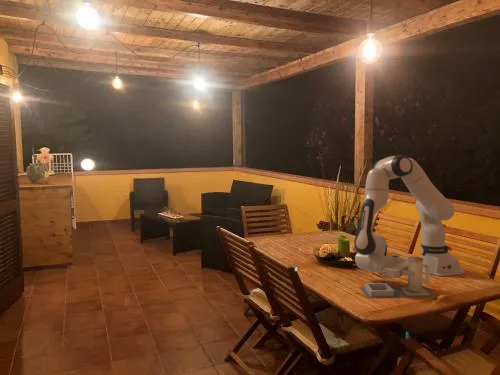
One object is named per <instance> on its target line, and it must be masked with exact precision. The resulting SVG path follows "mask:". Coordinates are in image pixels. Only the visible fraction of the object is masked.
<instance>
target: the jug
mask: <svg viewBox="0 0 500 375" xmlns="http://www.w3.org/2000/svg"><path fill="white" fill-rule="evenodd" d="M407 259H408V271H414V275H413V276H407V286H408V290H411V291H422V286H423V284H425V285H428V284H430V274H429V273H430V265H427V264H423V261H424V259H423V258H421V256H408V257H407ZM423 268H425V273H424V278H423V272H422V271H423Z"/></svg>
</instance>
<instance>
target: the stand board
mask: <svg viewBox="0 0 500 375" xmlns="http://www.w3.org/2000/svg"><path fill="white" fill-rule="evenodd" d="M359 289H360V290H361V291H362V293H363V294H364V295H365V297H366V298H367V299H404V298H405V299H410V298H419V299H420V298H433V299H432V300H433V301H435V300H438V296H436V294H434V292H432V291H431V290H429V289H428V288H427V287H426V286H425V285H422V291H411V290H408V285H407V286H401V285H400V286H391V285H389V284H388V282H371V283H369V282H367V283H364V286H359Z"/></svg>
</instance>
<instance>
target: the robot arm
mask: <svg viewBox="0 0 500 375" xmlns="http://www.w3.org/2000/svg"><path fill="white" fill-rule="evenodd" d="M398 178H401V180H402V182H403V183H404V185H405V186H406V188H407V190H408V191H409V192H410V194H411V195H412V196H413V198H415V199H416V200H415V209H416V211H417V212H418V215H419V220H420V225H421V243H420V257H421V258H423V259H424V261H423V264H427V265H430V273H429V275H434V276H437V277H447V276H456V275H458V276H459V275H465V274H466V270H464V269H463V268H462V267H461V263H460V260H459V259H458V258H457V257H456V256H454V255H453V254H452V253H450V252H452V250H453V248H452V247H451V246H450V245H446V230H445V227H444V226H443V224H442V223H443V222H442V221H449V220H451V219H452V218H453V216H454V215H455V210H456V209H455V206H454V205H453V203H452V202H450V201H449V200H448V199H447V198H446V197H445V196H444V195H443V193H441V192H440V191H439V190H438V188H437V187H435V185H434V184H433V183H432V181H431V180H430V179H429V177H428V175H427V174H426V173H425V170H424V169H423V168H422V167H421V166H420V164H419V163H418V162H417V161H416V160H415V159H413V158H412V157H408V156H406V155H403V154H398V155H392V156H391V155H390V156H387V157H385V158H383V159H379V160H376V161H375V162H374V164H373V165H372V167H371V169H370V170H369V171H368V172H367V176H366V180H365V187H364V198H363V202H362V205H361V208H360V215H359V222H358V224H359V225H358V229H357V233H356V236H355V238H354V240H353V241H354V242H353V244H354V245H353V247H354V248H355V250H356V252H357V253H355V256H354V262H355V265H356V266H357V268H359V269H361V270H363V271H366V272H371V273H377V274H379V275H383V276H384V277H387V278H393V279H398V278H401V277H402V276H405V277H406V276H407V277H408V276H413V275H414V271H408V258H405V257H401V256H399V255H391V256H390V255H386V256H384V254H385V251H386V247H387V248H388V246H387V245H388V243H387V240H386V238H385V237H384V236H383V235H381V234H376V233H373V228H374V219H375V215H376V213H377V212H378V211H380V210H381V209H383V208H384V207H386V205H387V204H388V200H389V190H390V189H389V182H390V180H394V179H398ZM449 251H450V252H449ZM422 274H425V268H423V271H422Z"/></svg>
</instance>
